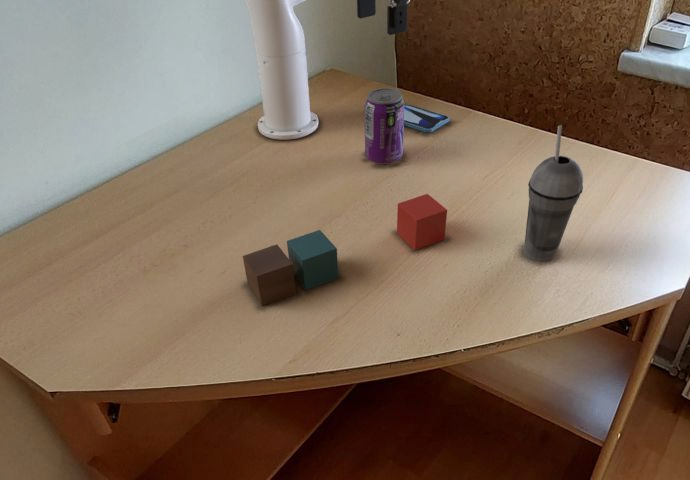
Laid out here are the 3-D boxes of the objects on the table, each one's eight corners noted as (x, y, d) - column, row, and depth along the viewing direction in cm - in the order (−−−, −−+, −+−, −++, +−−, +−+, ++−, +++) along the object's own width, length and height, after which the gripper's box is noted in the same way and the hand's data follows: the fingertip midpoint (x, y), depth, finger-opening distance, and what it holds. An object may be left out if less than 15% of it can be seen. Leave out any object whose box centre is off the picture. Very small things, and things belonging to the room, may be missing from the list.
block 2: (290, 270, 95) (286, 240, 91) (322, 259, 96) (319, 229, 92) (305, 290, 91) (302, 260, 87) (338, 278, 93) (336, 248, 89)
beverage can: (400, 167, 114) (402, 104, 106) (362, 166, 115) (361, 103, 107) (404, 149, 119) (406, 86, 110) (368, 147, 120) (367, 86, 112)
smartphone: (393, 99, 133) (451, 116, 125) (393, 103, 134) (451, 121, 126) (371, 111, 129) (429, 130, 121) (371, 116, 130) (428, 135, 122)
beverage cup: (556, 273, 90) (590, 145, 76) (507, 259, 93) (532, 133, 79) (570, 246, 95) (605, 121, 80) (524, 234, 98) (550, 110, 83)
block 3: (396, 232, 100) (397, 203, 96) (425, 222, 101) (427, 193, 97) (415, 250, 96) (416, 220, 92) (444, 239, 98) (447, 209, 94)
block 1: (247, 285, 93) (242, 255, 89) (281, 273, 94) (277, 243, 90) (261, 306, 89) (256, 276, 85) (296, 293, 91) (292, 263, 87)
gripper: (330, -110, 92) (336, 15, 104) (389, -93, 81) (388, 45, 93) (374, -117, 94) (375, 6, 106) (437, -102, 83) (430, 34, 95)
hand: (381, 24), depth 100 cm, fingers open, 9 cm apart
